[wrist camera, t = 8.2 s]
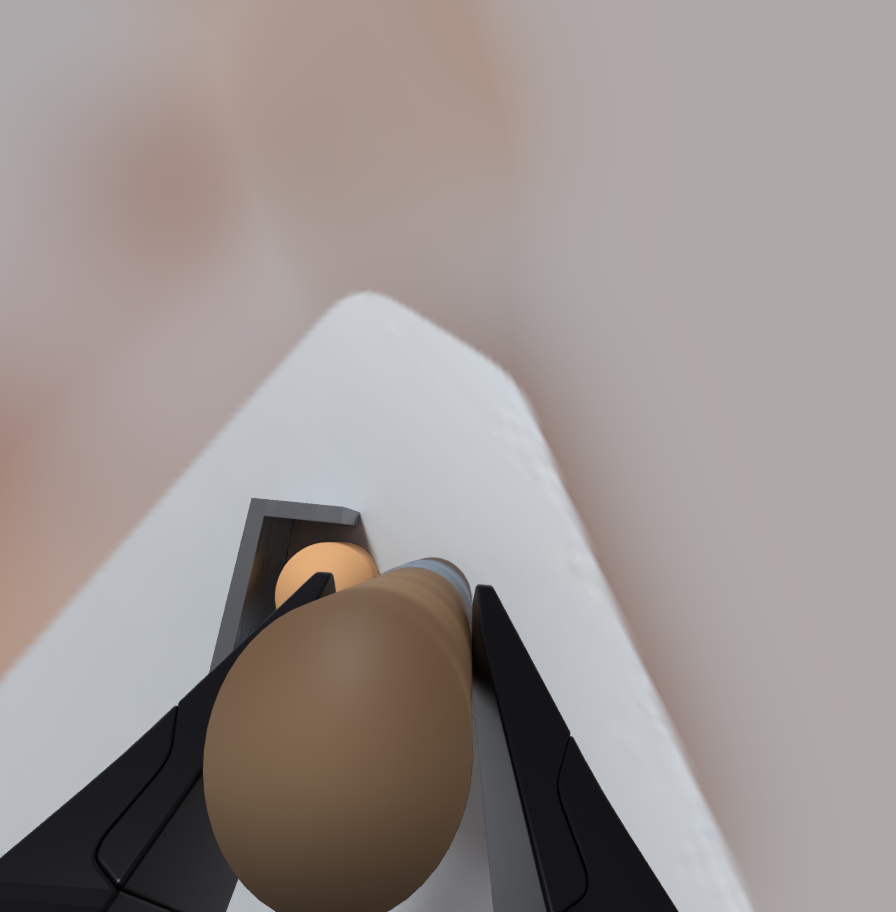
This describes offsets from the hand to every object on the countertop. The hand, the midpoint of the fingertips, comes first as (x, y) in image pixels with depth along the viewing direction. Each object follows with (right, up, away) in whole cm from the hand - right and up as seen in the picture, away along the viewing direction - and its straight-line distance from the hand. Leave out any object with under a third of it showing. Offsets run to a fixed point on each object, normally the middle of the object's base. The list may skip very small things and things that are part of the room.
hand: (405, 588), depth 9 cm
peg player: (0, -3, +6) cm, 7 cm away
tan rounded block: (-4, -3, +8) cm, 9 cm away
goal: (-6, -3, +8) cm, 10 cm away
